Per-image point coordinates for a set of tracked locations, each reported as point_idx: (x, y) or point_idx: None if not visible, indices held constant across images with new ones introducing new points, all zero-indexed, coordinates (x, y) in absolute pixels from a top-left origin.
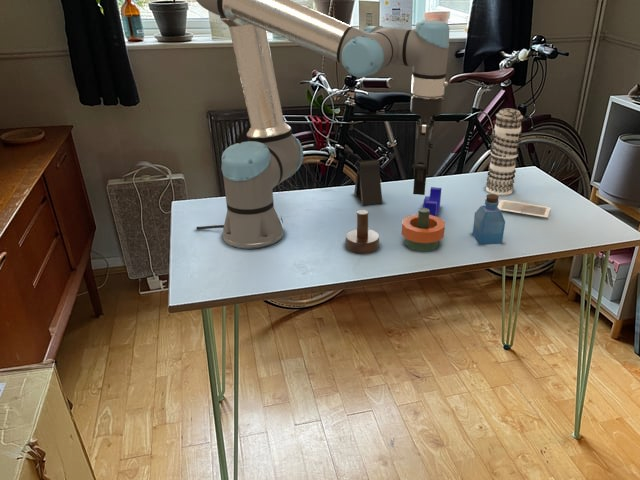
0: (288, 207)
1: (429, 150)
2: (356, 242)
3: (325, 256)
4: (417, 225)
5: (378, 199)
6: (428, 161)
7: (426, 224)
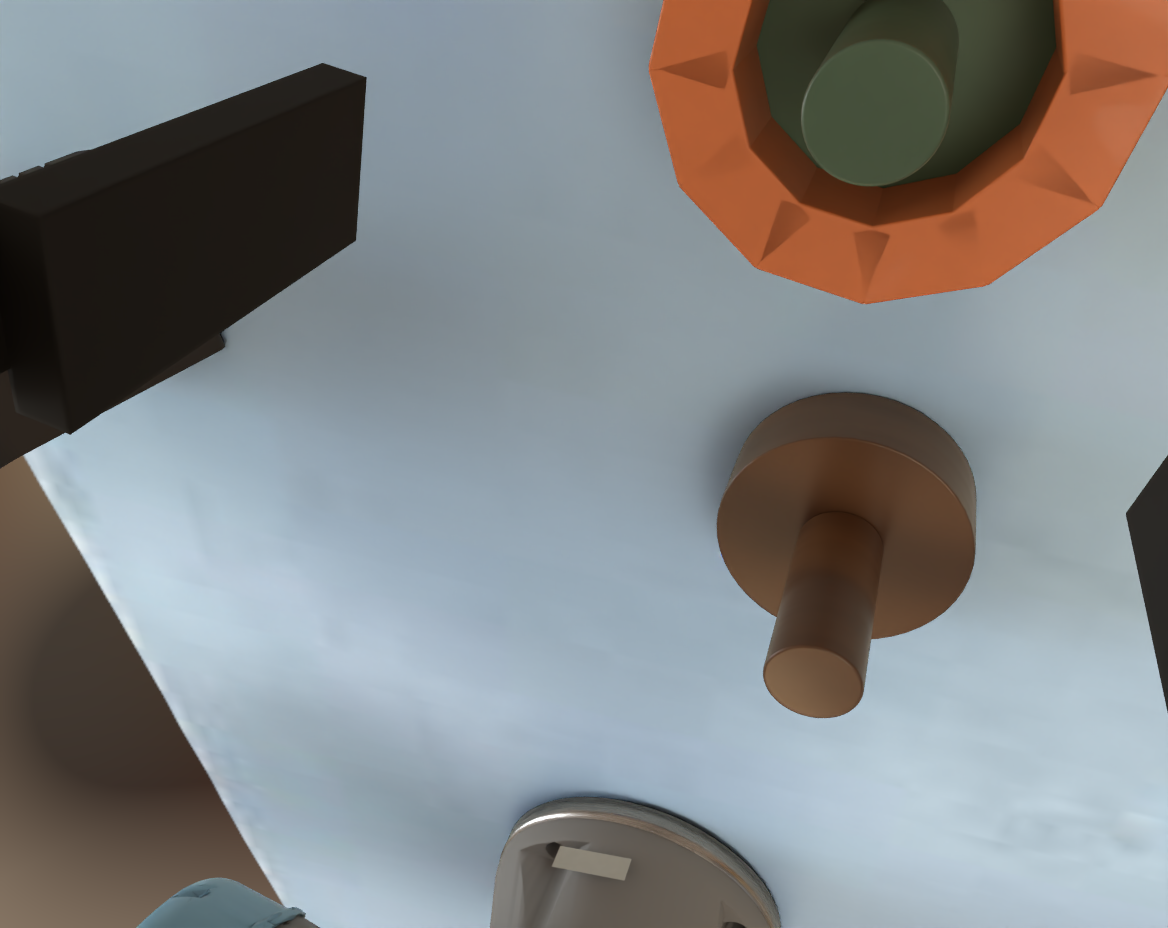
0: (318, 701)
1: (49, 225)
2: (945, 607)
3: (942, 708)
4: (757, 83)
5: None
6: (224, 150)
7: (951, 49)
